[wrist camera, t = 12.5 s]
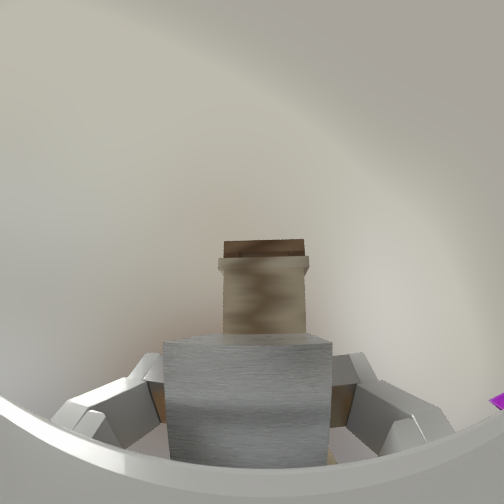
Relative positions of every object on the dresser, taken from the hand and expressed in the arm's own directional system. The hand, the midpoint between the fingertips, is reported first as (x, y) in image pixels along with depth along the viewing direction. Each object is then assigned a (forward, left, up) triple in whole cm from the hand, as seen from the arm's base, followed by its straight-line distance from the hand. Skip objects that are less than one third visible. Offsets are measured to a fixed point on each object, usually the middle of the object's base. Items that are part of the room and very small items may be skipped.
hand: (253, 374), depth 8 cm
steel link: (0, +4, -3) cm, 5 cm away
